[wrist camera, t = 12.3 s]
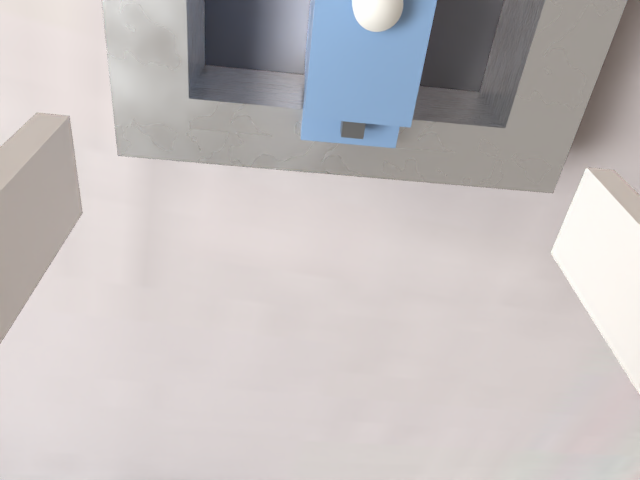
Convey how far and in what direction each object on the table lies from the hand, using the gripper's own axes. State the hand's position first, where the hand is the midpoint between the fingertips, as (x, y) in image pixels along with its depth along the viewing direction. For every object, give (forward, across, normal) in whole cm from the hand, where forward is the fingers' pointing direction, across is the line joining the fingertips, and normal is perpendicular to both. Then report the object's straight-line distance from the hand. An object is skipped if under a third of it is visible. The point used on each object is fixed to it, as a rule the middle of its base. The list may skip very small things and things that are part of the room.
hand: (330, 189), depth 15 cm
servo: (+17, -2, -1) cm, 18 cm away
